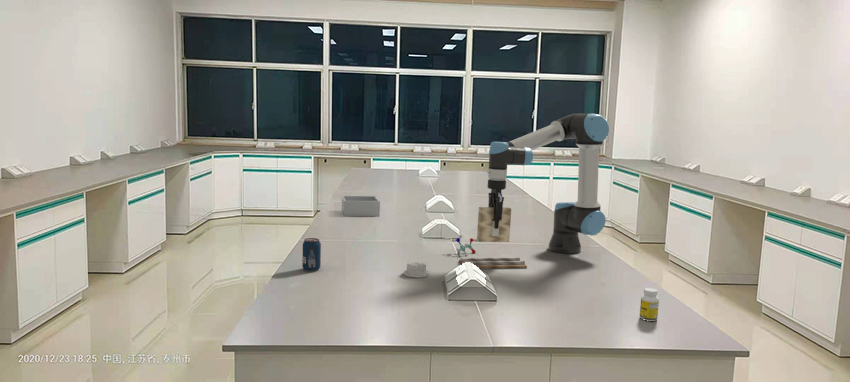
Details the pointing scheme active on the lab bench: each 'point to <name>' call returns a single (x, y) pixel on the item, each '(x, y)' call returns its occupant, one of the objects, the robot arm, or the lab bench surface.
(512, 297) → the lab bench surface
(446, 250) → the lab bench surface
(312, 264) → the soda can
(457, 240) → the molecular model
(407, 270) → the mechanical component
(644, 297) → the supplement bottle
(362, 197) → the storage crate
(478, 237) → the door panel
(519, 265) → the track board
